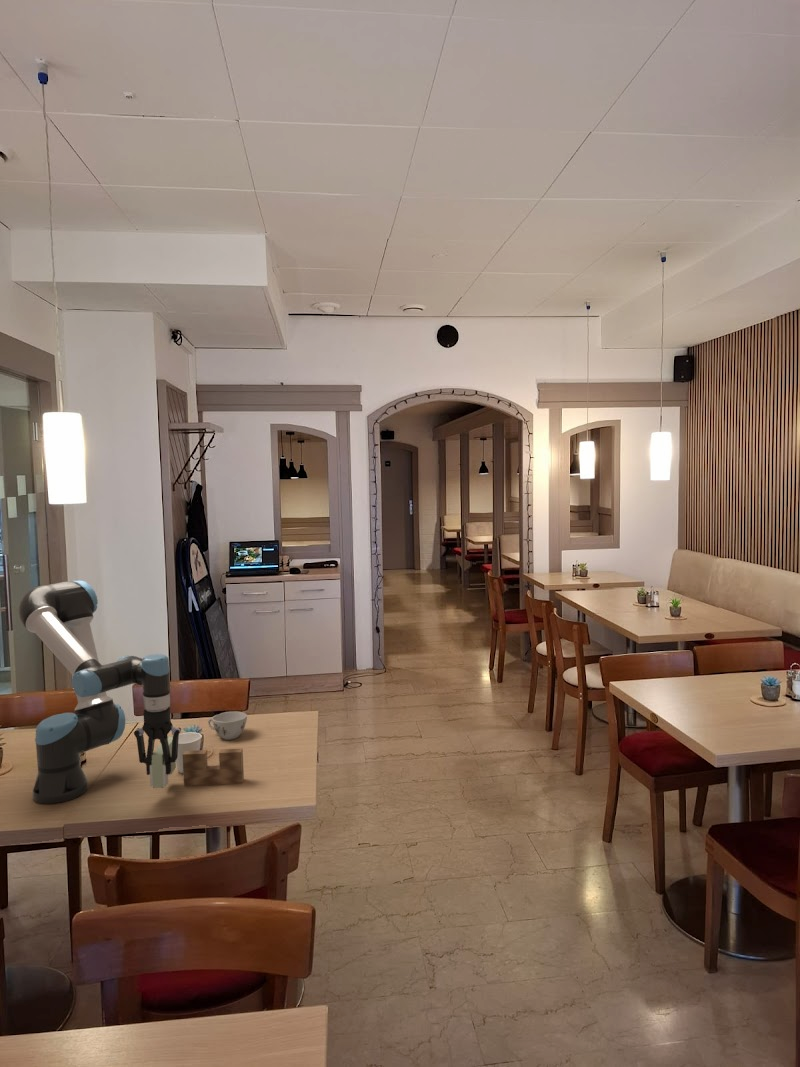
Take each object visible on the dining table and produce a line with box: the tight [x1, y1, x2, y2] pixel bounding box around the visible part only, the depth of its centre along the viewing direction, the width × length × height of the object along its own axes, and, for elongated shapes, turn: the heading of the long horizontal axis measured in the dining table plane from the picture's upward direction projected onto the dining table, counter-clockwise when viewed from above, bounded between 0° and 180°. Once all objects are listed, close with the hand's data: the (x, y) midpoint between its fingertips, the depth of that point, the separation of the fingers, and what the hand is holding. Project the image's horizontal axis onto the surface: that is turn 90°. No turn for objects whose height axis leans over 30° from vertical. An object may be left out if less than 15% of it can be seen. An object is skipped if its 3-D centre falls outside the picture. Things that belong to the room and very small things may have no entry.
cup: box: [176, 731, 203, 774], centre depth 232 cm, size 10×10×11 cm
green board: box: [152, 736, 177, 789], centre depth 215 cm, size 14×3×10 cm, turn 3°
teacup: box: [207, 710, 248, 741], centre depth 261 cm, size 15×12×8 cm
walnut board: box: [182, 748, 245, 786], centre depth 222 cm, size 18×3×10 cm, turn 93°
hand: (159, 784), depth 210 cm, fingers closed on green board, 3 cm apart
